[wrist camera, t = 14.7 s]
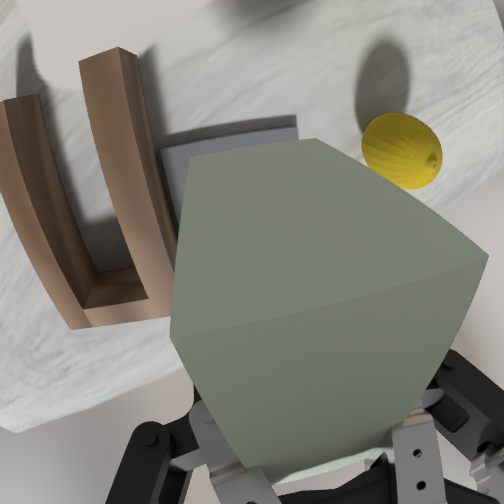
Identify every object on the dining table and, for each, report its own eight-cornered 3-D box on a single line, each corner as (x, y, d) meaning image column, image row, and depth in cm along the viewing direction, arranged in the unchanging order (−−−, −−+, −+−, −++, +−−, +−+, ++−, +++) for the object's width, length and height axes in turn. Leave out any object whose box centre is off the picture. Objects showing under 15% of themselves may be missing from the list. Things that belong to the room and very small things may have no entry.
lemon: (368, 93, 20) (433, 106, 13) (408, 133, 22) (471, 159, 15) (332, 144, 22) (387, 175, 15) (375, 179, 24) (431, 219, 17)
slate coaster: (189, 260, 25) (189, 265, 25) (161, 148, 20) (159, 150, 19) (301, 238, 26) (304, 243, 25) (294, 125, 21) (297, 127, 20)
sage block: (232, 336, 13) (258, 487, 7) (189, 157, 9) (169, 335, 3) (317, 317, 13) (377, 454, 7) (315, 138, 9) (489, 255, 3)
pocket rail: (84, 293, 25) (70, 329, 21) (16, 106, 15) (-20, 115, 11) (188, 274, 26) (187, 312, 22) (136, 55, 16) (118, 46, 12)
